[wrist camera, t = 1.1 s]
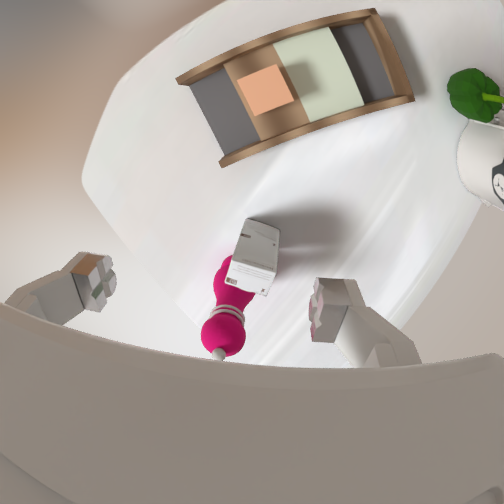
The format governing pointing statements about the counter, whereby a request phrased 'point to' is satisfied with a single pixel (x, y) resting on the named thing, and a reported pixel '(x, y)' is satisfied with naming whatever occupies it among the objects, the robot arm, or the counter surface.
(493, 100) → the bell pepper
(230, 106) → the box
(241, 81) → the block
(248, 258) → the skincare box
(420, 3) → the counter surface
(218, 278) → the pepper mill
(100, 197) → the counter surface
